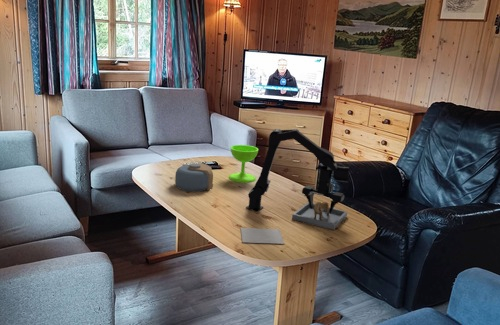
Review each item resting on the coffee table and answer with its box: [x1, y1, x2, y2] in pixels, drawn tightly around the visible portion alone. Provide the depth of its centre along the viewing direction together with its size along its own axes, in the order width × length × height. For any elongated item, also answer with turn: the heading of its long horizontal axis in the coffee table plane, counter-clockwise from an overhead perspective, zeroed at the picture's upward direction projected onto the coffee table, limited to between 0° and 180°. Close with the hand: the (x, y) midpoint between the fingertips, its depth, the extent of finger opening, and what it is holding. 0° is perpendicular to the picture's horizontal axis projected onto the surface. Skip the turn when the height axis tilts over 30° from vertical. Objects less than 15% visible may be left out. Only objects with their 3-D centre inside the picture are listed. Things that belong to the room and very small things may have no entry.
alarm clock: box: [174, 162, 214, 192], centre depth 237 cm, size 19×20×12 cm
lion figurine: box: [314, 201, 330, 220], centre depth 207 cm, size 15×5×9 cm, turn 154°
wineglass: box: [228, 144, 259, 184], centre depth 257 cm, size 16×16×18 cm
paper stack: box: [240, 227, 285, 245], centre depth 189 cm, size 23×25×1 cm
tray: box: [291, 201, 348, 231], centre depth 208 cm, size 20×20×2 cm
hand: (320, 211), depth 208 cm, fingers open, 9 cm apart
